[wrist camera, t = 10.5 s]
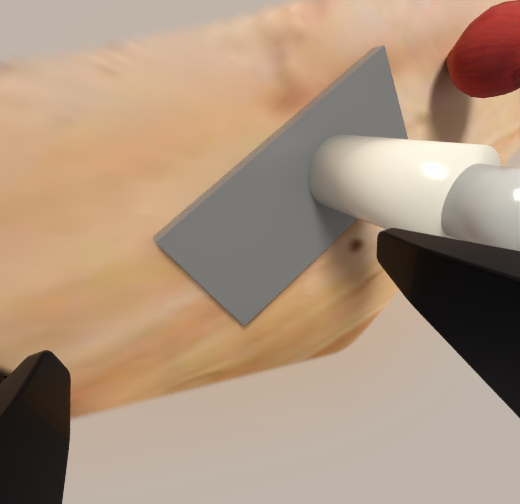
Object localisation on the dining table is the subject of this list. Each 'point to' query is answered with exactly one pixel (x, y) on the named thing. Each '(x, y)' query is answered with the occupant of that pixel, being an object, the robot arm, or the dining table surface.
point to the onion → (488, 53)
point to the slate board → (280, 196)
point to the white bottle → (420, 187)
